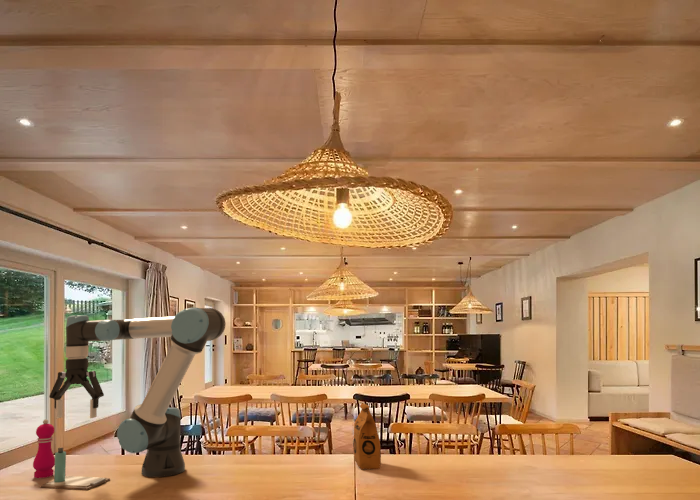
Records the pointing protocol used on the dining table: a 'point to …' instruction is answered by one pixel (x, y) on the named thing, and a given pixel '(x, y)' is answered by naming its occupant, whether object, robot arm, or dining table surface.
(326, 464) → the dining table surface
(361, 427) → the coffee package
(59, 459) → the bottle
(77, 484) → the clipboard
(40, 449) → the pepper mill
